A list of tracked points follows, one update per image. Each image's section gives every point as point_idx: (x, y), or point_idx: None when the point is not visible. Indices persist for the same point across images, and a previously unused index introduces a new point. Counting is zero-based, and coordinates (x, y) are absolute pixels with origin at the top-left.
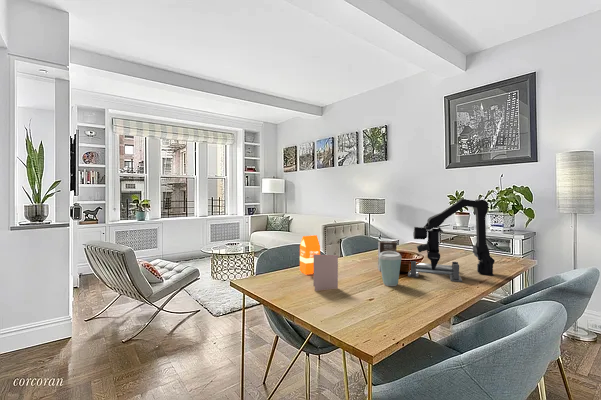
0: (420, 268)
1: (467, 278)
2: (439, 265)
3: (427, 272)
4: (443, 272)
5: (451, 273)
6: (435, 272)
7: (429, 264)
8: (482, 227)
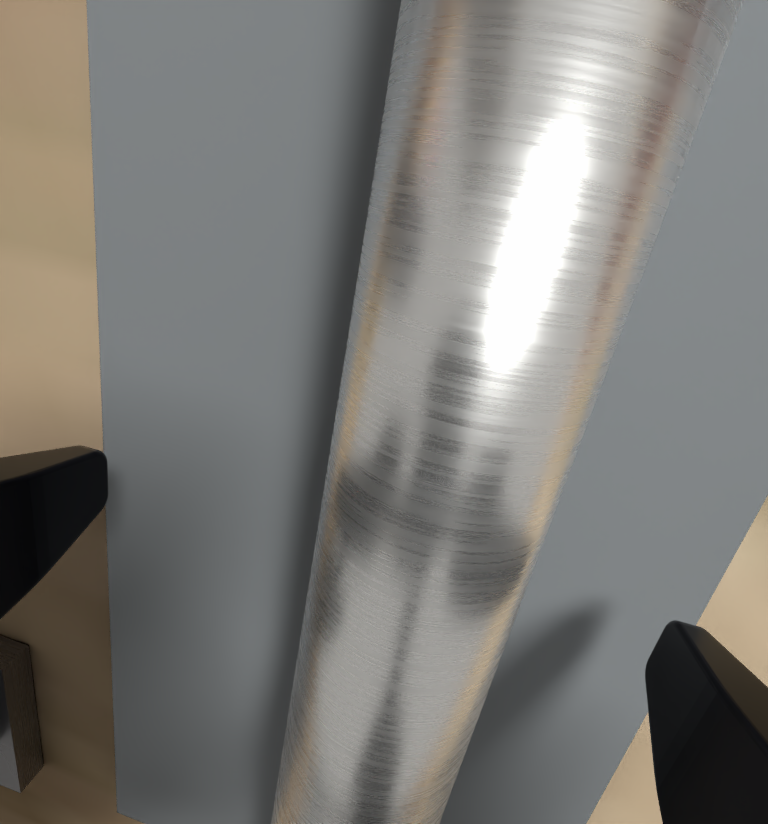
0: None
1: (27, 818)
2: (298, 780)
3: (114, 274)
4: (167, 647)
5: (142, 749)
6: None
7: (359, 505)
8: None
